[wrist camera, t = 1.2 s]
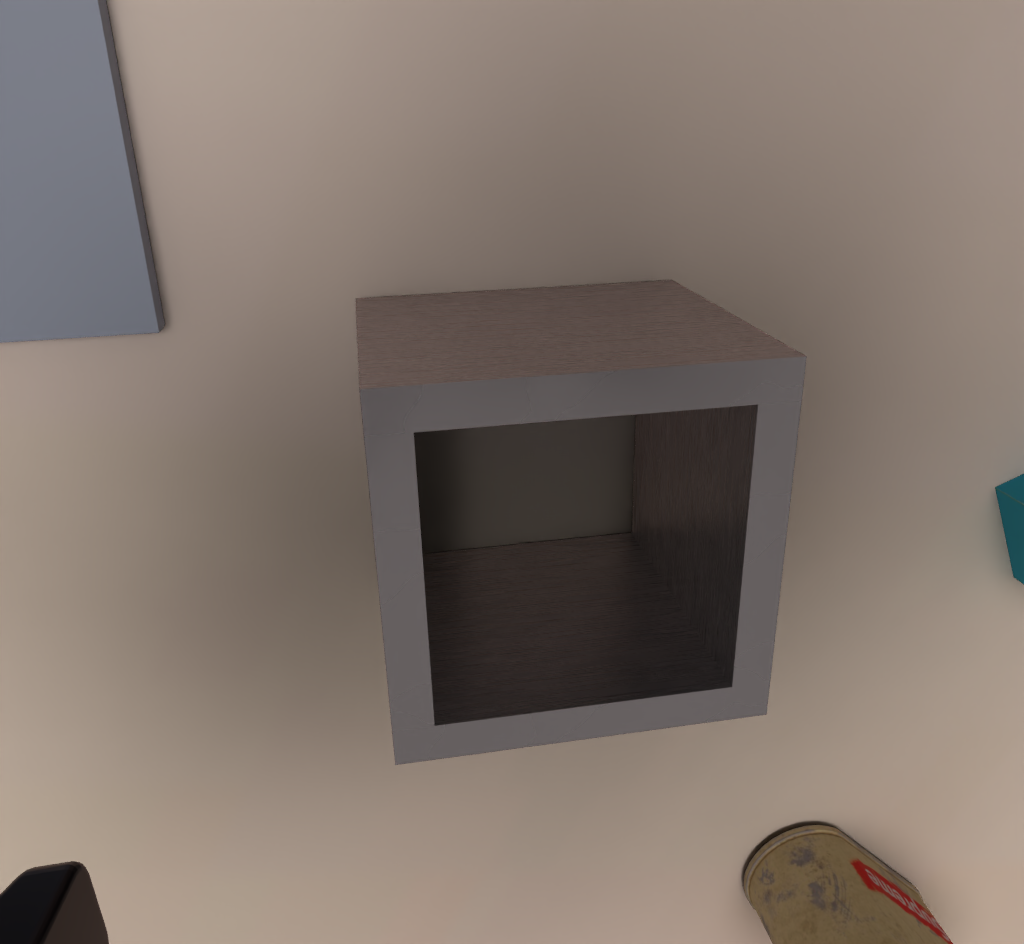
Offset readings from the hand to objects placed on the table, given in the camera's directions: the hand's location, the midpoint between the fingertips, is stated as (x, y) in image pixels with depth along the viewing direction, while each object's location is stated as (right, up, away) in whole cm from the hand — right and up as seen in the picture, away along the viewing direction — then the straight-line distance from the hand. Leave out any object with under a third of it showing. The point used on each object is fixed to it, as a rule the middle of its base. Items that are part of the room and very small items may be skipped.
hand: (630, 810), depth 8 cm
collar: (-1, +4, +12) cm, 12 cm away
